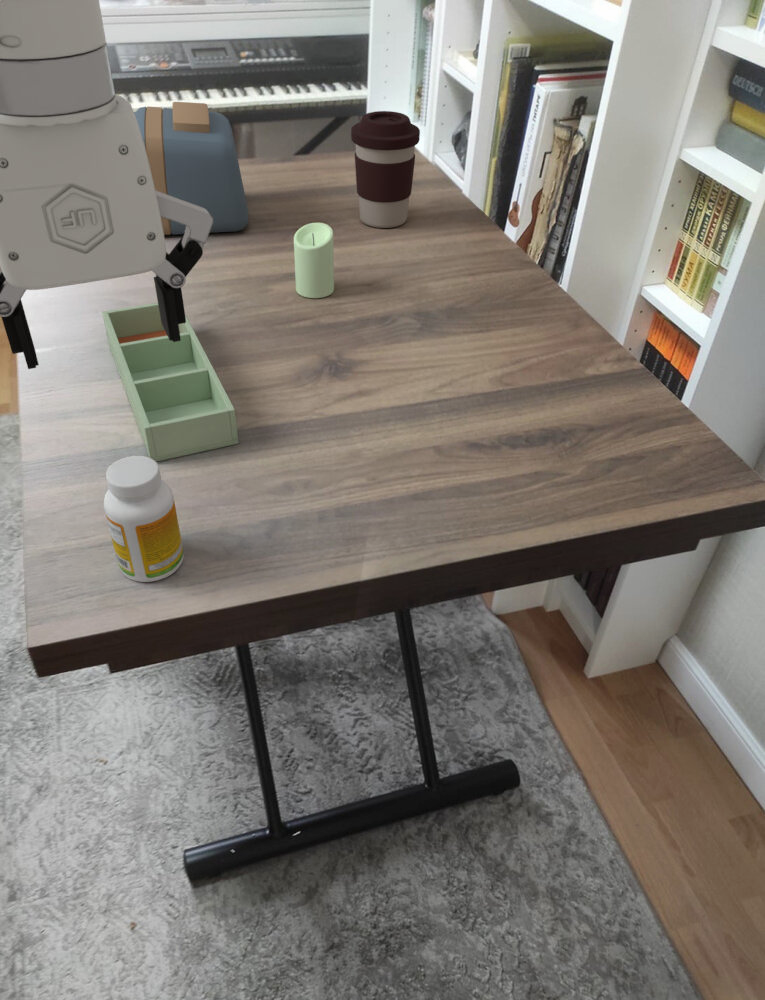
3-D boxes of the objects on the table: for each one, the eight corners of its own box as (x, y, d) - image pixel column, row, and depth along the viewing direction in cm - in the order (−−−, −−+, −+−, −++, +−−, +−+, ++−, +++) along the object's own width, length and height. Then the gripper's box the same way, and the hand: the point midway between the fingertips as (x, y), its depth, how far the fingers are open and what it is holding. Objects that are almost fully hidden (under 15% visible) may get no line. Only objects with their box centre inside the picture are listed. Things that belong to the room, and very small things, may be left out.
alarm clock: (140, 200, 133) (122, 92, 122) (243, 195, 135) (234, 89, 125) (137, 241, 120) (117, 125, 110) (251, 235, 123) (242, 121, 113)
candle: (322, 302, 107) (320, 240, 102) (288, 293, 109) (285, 232, 104) (340, 287, 111) (340, 226, 105) (308, 278, 112) (306, 219, 107)
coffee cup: (354, 233, 124) (354, 128, 115) (348, 209, 132) (347, 107, 122) (420, 231, 126) (425, 127, 116) (410, 207, 133) (414, 107, 123)
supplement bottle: (192, 542, 72) (177, 452, 66) (174, 587, 68) (156, 495, 62) (131, 537, 73) (110, 446, 66) (109, 581, 68) (85, 489, 62)
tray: (151, 463, 81) (144, 428, 78) (108, 343, 98) (101, 311, 95) (238, 443, 83) (235, 409, 81) (182, 330, 101) (177, 299, 98)
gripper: (-125, 113, 42) (-25, 398, 53) (210, 84, 48) (237, 347, 59) (-123, 77, 47) (-32, 343, 58) (179, 55, 53) (209, 302, 64)
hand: (103, 345), depth 59 cm, fingers open, 9 cm apart
